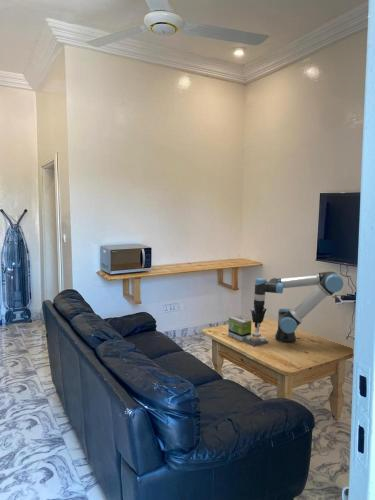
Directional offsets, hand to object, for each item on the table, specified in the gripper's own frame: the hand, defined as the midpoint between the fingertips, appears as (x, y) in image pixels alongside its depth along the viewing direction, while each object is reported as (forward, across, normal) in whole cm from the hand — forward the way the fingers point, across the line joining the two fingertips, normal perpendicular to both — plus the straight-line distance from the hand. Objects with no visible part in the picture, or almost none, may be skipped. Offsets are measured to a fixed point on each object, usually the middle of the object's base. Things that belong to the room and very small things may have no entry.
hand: (256, 331), depth 278 cm
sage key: (+9, +2, -4) cm, 10 cm away
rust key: (+7, +2, +1) cm, 8 cm away
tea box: (+10, +3, -16) cm, 19 cm away
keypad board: (+9, -1, -2) cm, 9 cm away
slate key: (+7, -4, -4) cm, 9 cm away
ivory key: (+8, -4, +1) cm, 9 cm away
